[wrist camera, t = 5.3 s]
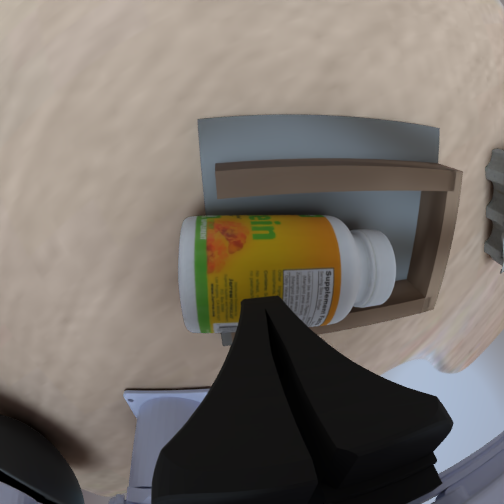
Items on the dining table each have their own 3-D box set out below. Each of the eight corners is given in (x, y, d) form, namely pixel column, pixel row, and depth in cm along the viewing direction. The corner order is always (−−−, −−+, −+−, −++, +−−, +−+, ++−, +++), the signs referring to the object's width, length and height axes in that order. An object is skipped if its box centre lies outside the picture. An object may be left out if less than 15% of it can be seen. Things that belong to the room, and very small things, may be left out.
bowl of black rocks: (-49, 365, 19) (-97, 465, 2) (58, 401, 21) (21, 558, 4) (13, 445, 27) (-8, 527, 10) (112, 474, 30) (105, 576, 13)
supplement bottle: (186, 205, 15) (360, 205, 16) (192, 296, 17) (348, 289, 18) (172, 237, 10) (415, 234, 11) (185, 358, 12) (389, 338, 13)
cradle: (406, 310, 21) (425, 334, 18) (222, 339, 19) (224, 373, 17) (433, 127, 15) (466, 133, 12) (198, 119, 13) (193, 118, 11)
